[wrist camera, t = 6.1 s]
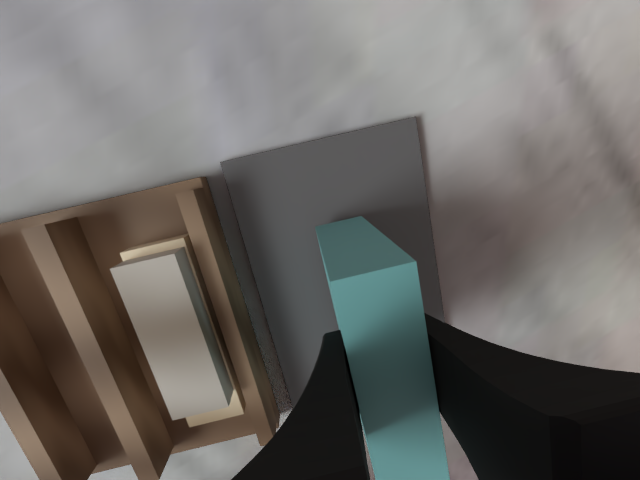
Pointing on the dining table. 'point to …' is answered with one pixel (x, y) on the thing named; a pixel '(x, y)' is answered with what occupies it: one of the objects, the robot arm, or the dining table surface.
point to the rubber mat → (323, 208)
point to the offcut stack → (179, 330)
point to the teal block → (385, 349)
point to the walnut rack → (111, 337)
